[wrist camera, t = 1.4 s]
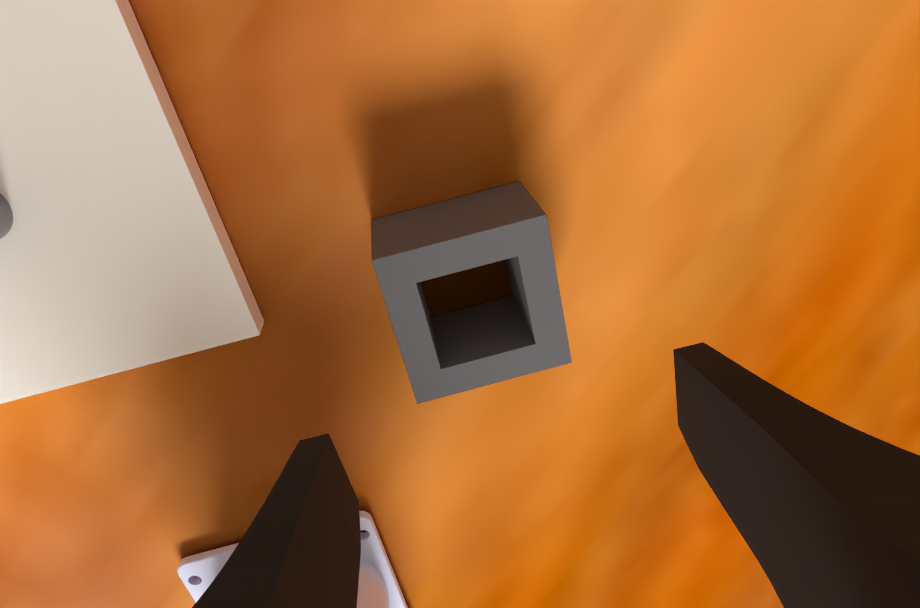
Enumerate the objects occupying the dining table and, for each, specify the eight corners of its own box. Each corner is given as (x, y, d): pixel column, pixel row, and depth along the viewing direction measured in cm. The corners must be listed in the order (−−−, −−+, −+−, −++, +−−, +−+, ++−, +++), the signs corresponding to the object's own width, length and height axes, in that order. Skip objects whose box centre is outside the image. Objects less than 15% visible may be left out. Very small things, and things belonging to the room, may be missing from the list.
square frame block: (544, 312, 23) (571, 362, 20) (410, 348, 23) (417, 403, 20) (519, 181, 21) (546, 214, 18) (371, 220, 21) (371, 260, 18)
